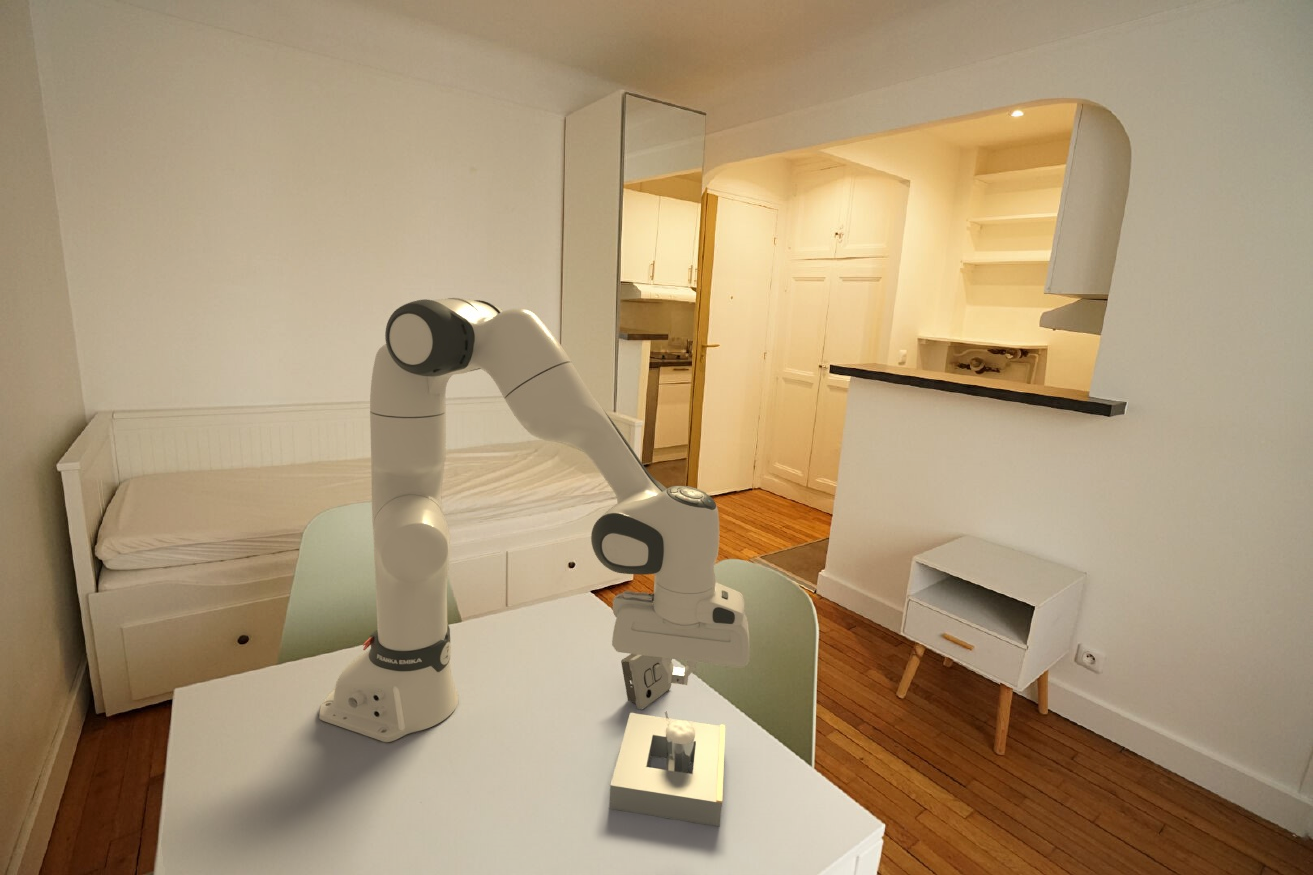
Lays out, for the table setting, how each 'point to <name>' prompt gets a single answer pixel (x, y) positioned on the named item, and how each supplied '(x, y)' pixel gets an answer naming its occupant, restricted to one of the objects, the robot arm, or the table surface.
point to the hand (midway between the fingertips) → (678, 681)
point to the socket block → (669, 773)
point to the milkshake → (679, 745)
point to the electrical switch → (644, 679)
